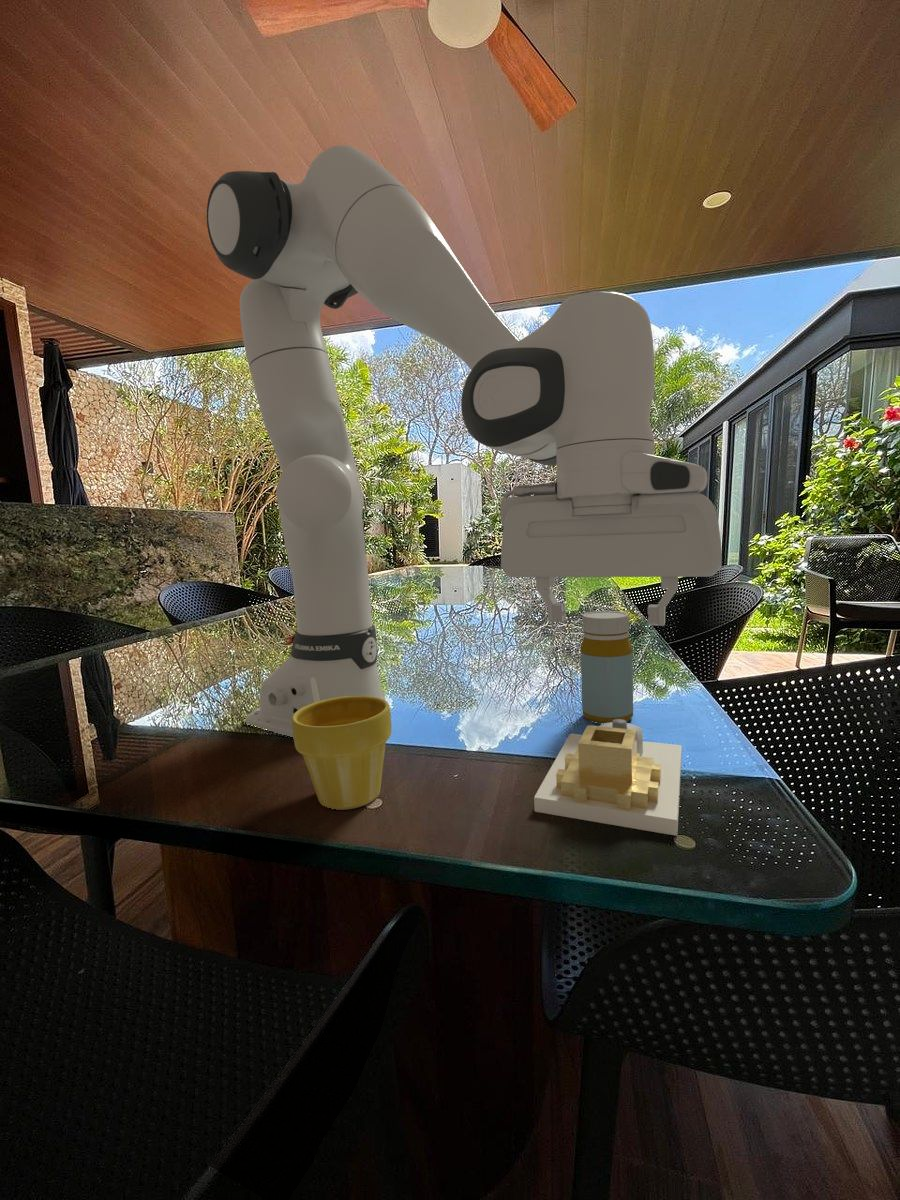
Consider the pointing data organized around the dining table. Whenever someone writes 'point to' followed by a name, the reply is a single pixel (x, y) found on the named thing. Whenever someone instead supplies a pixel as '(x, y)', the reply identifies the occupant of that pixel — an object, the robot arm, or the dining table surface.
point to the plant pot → (344, 748)
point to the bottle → (606, 667)
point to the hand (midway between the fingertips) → (604, 622)
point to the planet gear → (610, 770)
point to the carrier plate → (652, 819)
